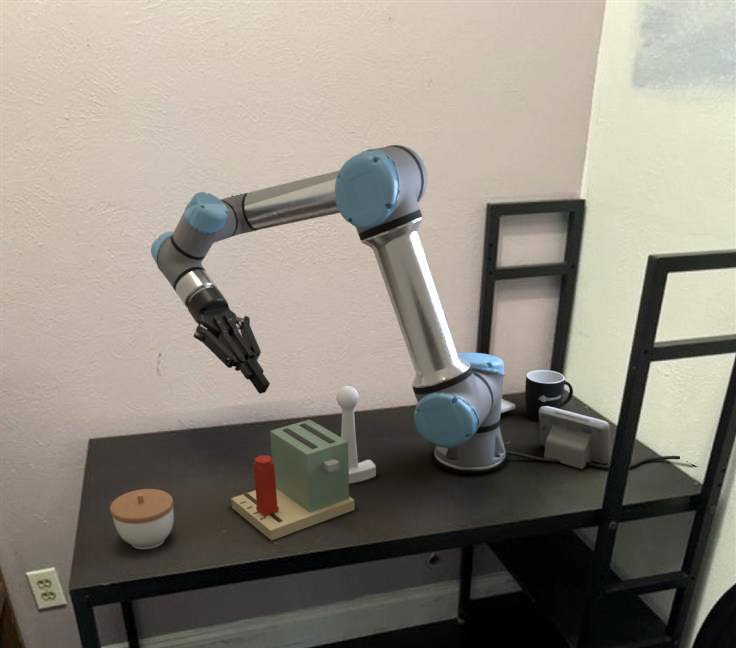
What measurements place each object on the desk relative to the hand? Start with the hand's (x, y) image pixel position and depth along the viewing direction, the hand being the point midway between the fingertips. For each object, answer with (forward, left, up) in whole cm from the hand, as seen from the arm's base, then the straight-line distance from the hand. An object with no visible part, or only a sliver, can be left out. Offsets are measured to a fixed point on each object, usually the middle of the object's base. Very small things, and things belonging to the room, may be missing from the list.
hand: (264, 388), depth 153 cm
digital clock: (-65, -1, -19) cm, 68 cm away
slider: (+1, +19, -17) cm, 25 cm away
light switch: (-53, -27, -19) cm, 62 cm away
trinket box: (+22, +22, -19) cm, 37 cm away
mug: (-67, -24, -19) cm, 73 cm away
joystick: (-16, +1, -19) cm, 25 cm away
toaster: (-4, +15, -19) cm, 25 cm away
